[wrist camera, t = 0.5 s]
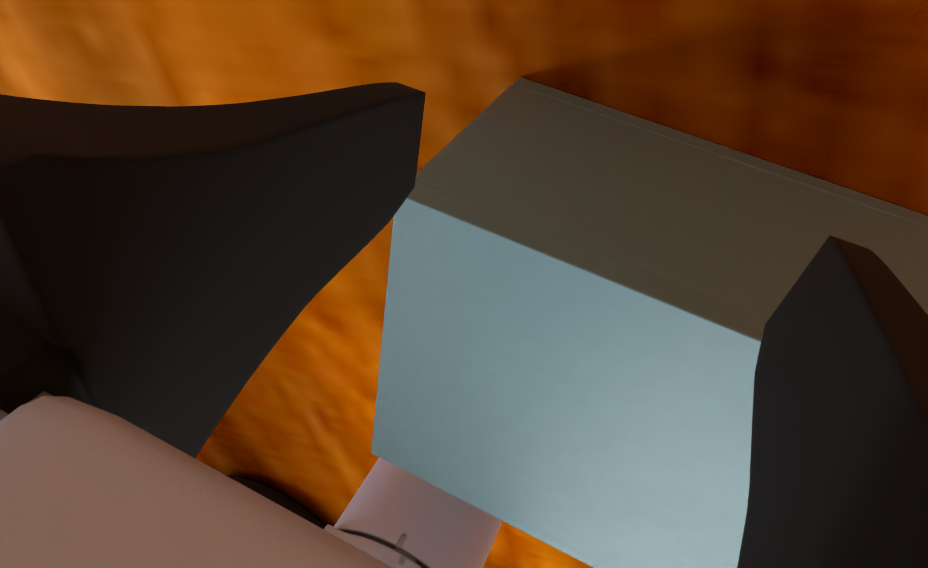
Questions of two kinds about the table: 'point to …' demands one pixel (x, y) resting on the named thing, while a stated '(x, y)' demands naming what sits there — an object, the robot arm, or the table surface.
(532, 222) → the cabinet
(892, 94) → the table surface
